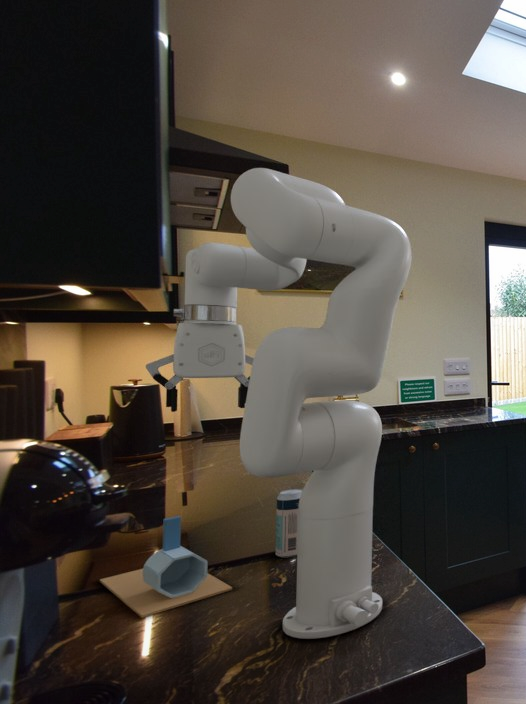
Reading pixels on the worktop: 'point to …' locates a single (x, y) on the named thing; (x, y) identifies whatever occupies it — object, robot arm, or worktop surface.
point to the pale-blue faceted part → (174, 564)
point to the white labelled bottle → (287, 523)
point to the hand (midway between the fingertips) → (208, 409)
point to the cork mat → (157, 593)
